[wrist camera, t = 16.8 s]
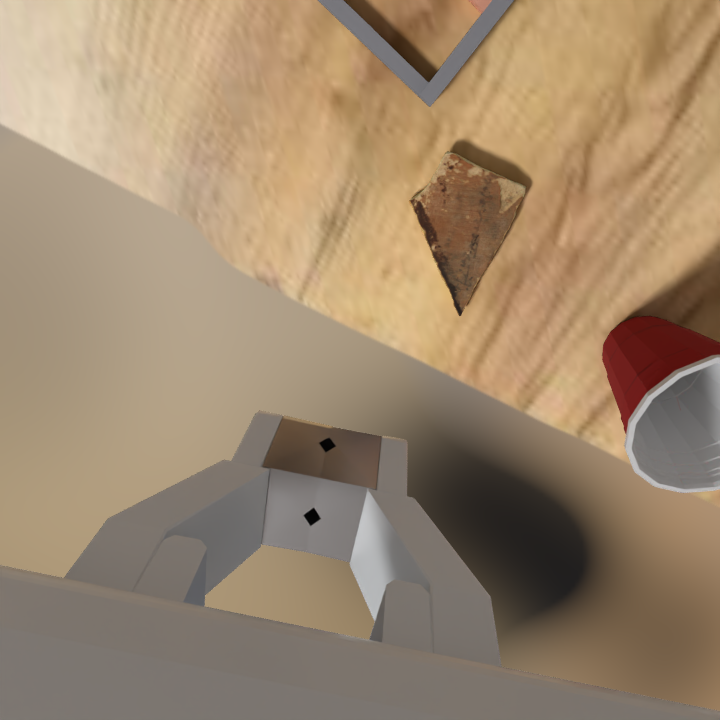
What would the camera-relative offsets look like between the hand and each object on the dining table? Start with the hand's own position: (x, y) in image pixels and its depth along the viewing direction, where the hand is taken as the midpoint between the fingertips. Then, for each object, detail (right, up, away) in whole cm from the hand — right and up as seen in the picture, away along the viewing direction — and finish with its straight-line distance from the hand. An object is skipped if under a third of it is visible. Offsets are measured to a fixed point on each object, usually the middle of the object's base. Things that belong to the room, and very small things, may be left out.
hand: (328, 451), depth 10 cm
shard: (+10, +12, +29) cm, 33 cm away
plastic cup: (+24, +3, +31) cm, 40 cm away
